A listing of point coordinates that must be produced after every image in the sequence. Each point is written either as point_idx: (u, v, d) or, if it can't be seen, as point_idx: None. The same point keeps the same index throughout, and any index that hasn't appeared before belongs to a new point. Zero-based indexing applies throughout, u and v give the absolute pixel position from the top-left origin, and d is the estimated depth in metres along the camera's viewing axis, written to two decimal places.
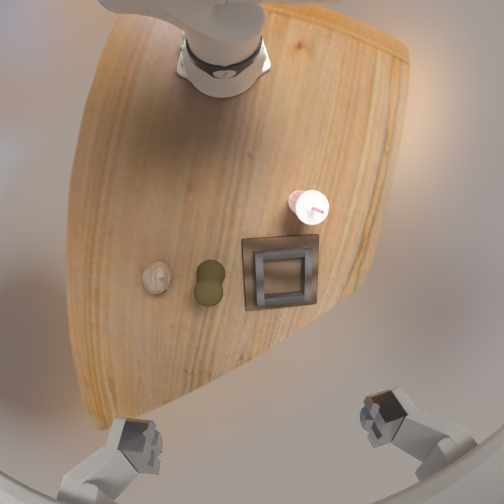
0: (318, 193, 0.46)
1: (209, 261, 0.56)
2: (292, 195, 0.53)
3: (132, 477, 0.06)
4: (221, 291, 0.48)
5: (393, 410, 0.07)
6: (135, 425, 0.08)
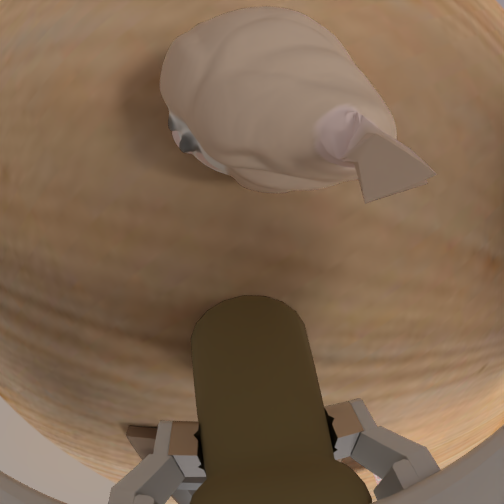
0: None
1: None
2: None
3: (179, 482, 0.07)
4: None
5: (348, 424, 0.07)
6: (183, 428, 0.08)
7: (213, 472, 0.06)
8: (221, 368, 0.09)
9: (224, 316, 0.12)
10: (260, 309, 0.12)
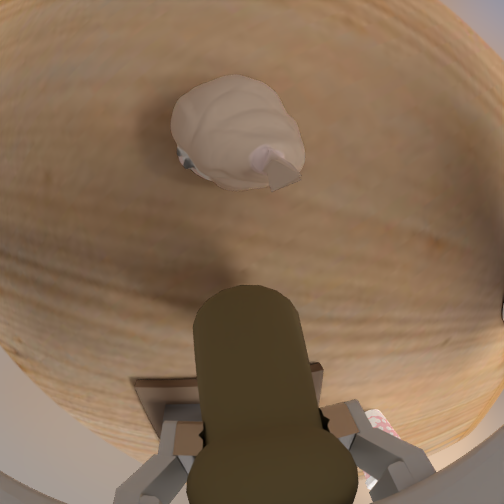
0: None
1: None
2: (384, 418, 0.24)
3: (183, 482, 0.07)
4: None
5: (344, 425, 0.07)
6: (187, 427, 0.08)
7: (211, 440, 0.07)
8: (220, 348, 0.10)
9: (222, 303, 0.13)
10: (255, 296, 0.13)
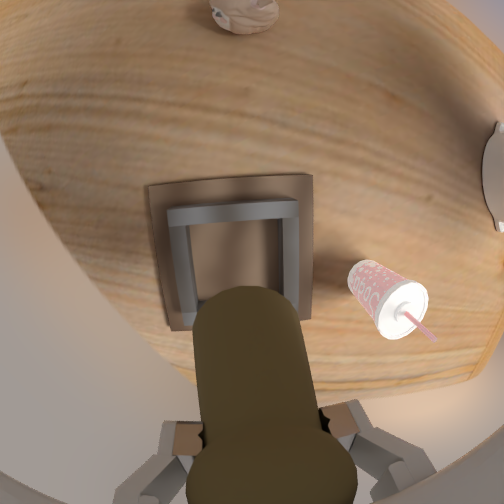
0: (420, 317, 0.23)
1: None
2: None
3: (183, 482, 0.07)
4: None
5: (344, 425, 0.07)
6: (187, 427, 0.08)
7: (210, 441, 0.07)
8: (219, 349, 0.10)
9: (222, 304, 0.13)
10: (255, 297, 0.13)
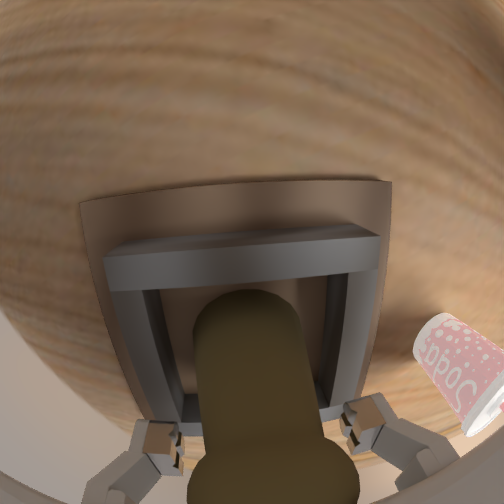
0: None
1: None
2: None
3: (155, 480, 0.06)
4: None
5: (371, 417, 0.07)
6: (159, 427, 0.08)
7: (212, 448, 0.07)
8: (220, 354, 0.10)
9: (222, 308, 0.13)
10: (256, 301, 0.13)
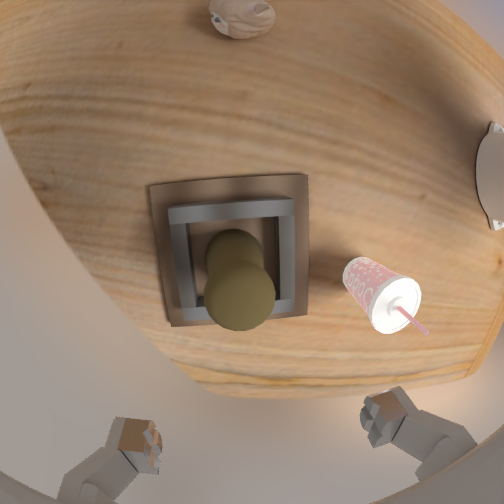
0: (414, 312, 0.24)
1: None
2: (377, 263, 0.30)
3: (132, 477, 0.06)
4: None
5: (393, 410, 0.07)
6: (135, 425, 0.08)
7: None
8: (219, 249, 0.24)
9: (221, 235, 0.27)
10: (237, 232, 0.27)
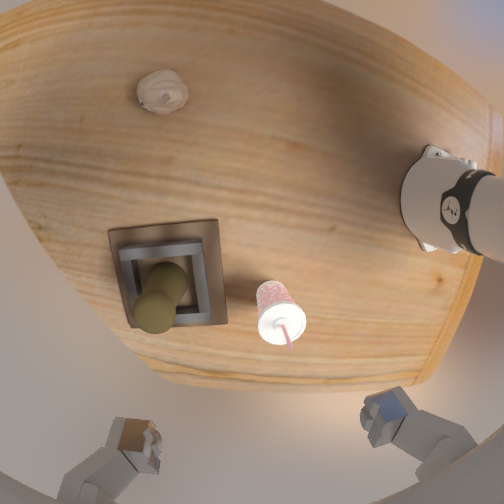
0: (301, 329, 0.34)
1: (187, 281, 0.38)
2: (283, 287, 0.39)
3: (132, 477, 0.06)
4: None
5: (393, 410, 0.07)
6: (135, 425, 0.08)
7: None
8: (150, 278, 0.34)
9: (156, 267, 0.36)
10: (166, 265, 0.36)
